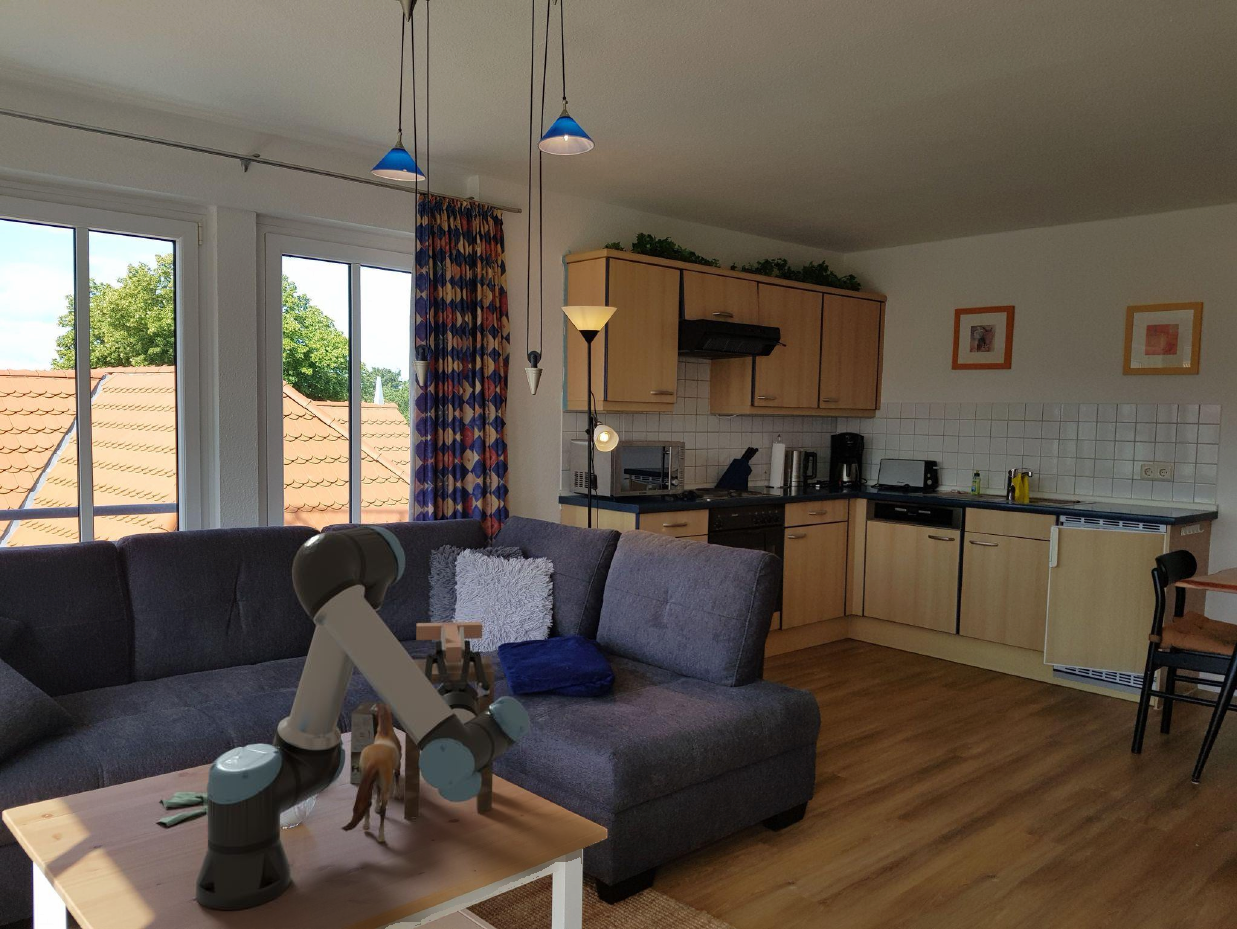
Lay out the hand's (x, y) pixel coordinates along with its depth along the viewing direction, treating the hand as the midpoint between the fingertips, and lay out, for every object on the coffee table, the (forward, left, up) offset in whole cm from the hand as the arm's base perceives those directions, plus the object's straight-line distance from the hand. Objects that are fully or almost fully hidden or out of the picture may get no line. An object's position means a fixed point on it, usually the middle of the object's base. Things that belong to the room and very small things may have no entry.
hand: (452, 631), depth 181 cm
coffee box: (-17, +26, -39) cm, 50 cm away
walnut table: (0, +8, -39) cm, 40 cm away
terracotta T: (0, +3, -4) cm, 5 cm away
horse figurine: (-17, +2, -39) cm, 43 cm away
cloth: (-53, +14, -40) cm, 68 cm away
